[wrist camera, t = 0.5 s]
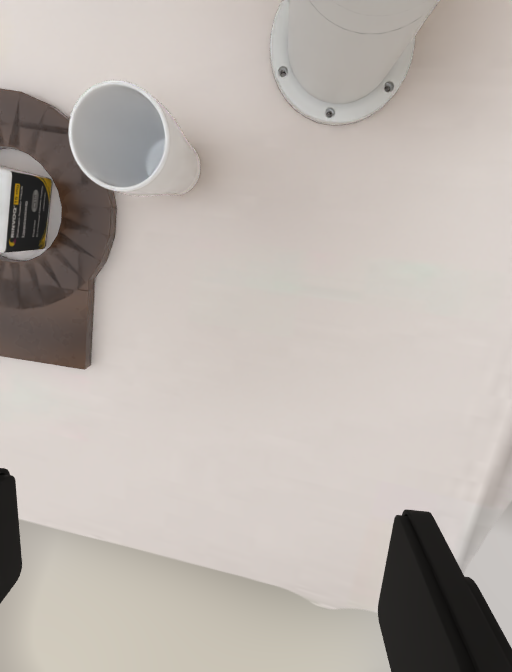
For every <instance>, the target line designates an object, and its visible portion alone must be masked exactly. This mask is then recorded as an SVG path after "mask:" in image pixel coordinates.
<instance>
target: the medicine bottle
mask: <svg viewBox="0 0 512 672" xmlns="http://www.w3.org/2000/svg"><path fill="white" fill-rule="evenodd" d="M51 187H52V181H51V179H49V178H46V177H42V176H39V175H35V174H31V173H27V172H23V171H19V170H15V169H11V168H7V167H3V166H0V253H5V252H15V251H25V250H35V249H43V248H44V247H45V242H46V233H47V224H48V215H49V206H50V197H51Z"/></svg>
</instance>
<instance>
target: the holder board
mask: <svg viewBox="0 0 512 672" xmlns="http://www.w3.org/2000/svg"><path fill="white" fill-rule="evenodd" d="M69 121H70V119H69V118H68V117H66V116H65V115H64V114H63V113H62V112H60V111H59V110H58V109H56V108H55V107H53V106H51V105H49V104H47V103H45V102H42V101H40V100H38V99H36V98H34V97H31V96H29V95H27V94H25V93H22V92H19V91H12V90H5V89H0V149H6V148H11V149H18V150H20V151H23V152H25V153H27V154H29V155H30V156H32V157H33V158H34V159H35V160H37V161H38V162H39V163H41V165H42V166H43V167H44V168H45V170H46V171H47V172H48V173H49V175H50V176H51V177H52V179H53V181H54V183H55V185H56V187H57V189H58V192H59V197H60V201H61V206H62V218H61V225H60V228H59V232H58V235H57V237H56V239H55V240H54V242H53V243H52V245H51V246H50V247H49V248H48V249H47V250H46V251H45V252H44V253H43V254H41V255H40V256H38V257H36V258H33V259H31V260H29V261H18V260H11V259H8V258H5V257H3V256H1V255H0V356H3V357H10V358H16V359H22V360H29V361H35V362H41V363H47V364H54V365H60V366H66V367H73V368H79V369H86V368H87V367H89V366H90V365H91V345H92V323H93V300H94V279H95V277H96V276H97V274H98V273H99V271H100V270H101V268H102V267H103V265H104V264H105V262H106V261H107V258H108V255H109V252H110V249H111V246H112V243H113V240H114V237H115V226H116V203H115V197H114V192H113V191H112V190H109V189H106V188H104V187H101V186H99V185H98V184H96V183H95V182H93V181H92V180H91V179H90V178H88V177H87V176H86V175H85V174H84V172H83V171H82V170H81V169H80V167H79V166H78V164H77V162H76V160H75V158H74V156H73V154H72V151H71V147H70V142H69Z"/></svg>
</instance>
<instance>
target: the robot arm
mask: <svg viewBox="0 0 512 672" xmlns="http://www.w3.org/2000/svg"><path fill="white" fill-rule="evenodd" d="M439 1H440V0H282V2H281V4H280V6H279V8H278V11H277V13H276V16H275V18H274V22H273V27H272V31H271V40H270V57H271V64H272V69H273V74H274V77H275V80H276V82H277V85H278V87H279V89H280V91H281V92H282V94H283V96H284V97H285V99H286V100H287V101H288V102H289V104H290V105H291V106H292V107H293V108H294V109H295V110H296V111H298V112H299V113H301V114H302V115H303V116H305V117H306V118H309V119H311V120H313V121H316V122H318V123H323V124H328V125H345V124H350V123H354V122H358V121H360V120H362V119H365V118H367V117H369V116H370V115H372V114H373V113H375V112H376V111H378V110H379V109H381V108H382V107H383V106H384V105H385V104H386V103H387V102H388V101H389V100H390V99H391V98H392V97H393V95H394V94H395V93H396V92H397V90H398V89H399V87H400V85H401V84H402V82H403V80H404V79H405V77H406V75H407V72H408V69H409V67H410V64H411V61H412V57H413V52H414V47H415V35H416V33H417V32H418V30H419V29H420V28H421V26H422V25H423V23H424V22H425V20H426V19H427V18H428V16H429V15H430V13H431V12H432V11H433V9H434V8H435V6H436V5H437V4H438V2H439ZM282 72H285V73H286V75H285V76H284V77H282V76H281V75H280V74H281V73H282ZM385 87H388V88H389V92H386V91H385V90H384V88H385ZM328 112H330V113H331V114H332V116H331V117H327V116H326V114H327V113H328ZM21 569H22V558H21V546H20V534H19V521H18V509H17V496H16V484H15V478H14V477H13V476H11V475H10V473H9V471H8V470H7V469H4V468H0V603H1V602H2V600H3V599H4V598H5V596H6V595H7V594H8V592H9V591H10V589H11V588H12V587H13V585H14V584H15V583H16V581H17V580H18V578H19V576H20V572H21ZM378 617H379V624H380V627H381V632H382V636H383V640H384V643H385V648H386V652H387V656H388V660H389V664H390V668H391V672H512V648H511V647H510V645H509V643H508V641H507V639H506V637H505V636H504V634H503V632H502V630H501V628H500V627H499V625H498V623H497V621H496V619H495V617H494V615H493V614H492V612H491V610H490V608H489V606H488V604H487V603H486V601H485V599H484V597H483V595H482V593H481V592H480V590H479V588H478V587H477V585H476V583H475V582H474V581H473V580H472V579H471V578H469V577H464V575H463V573H462V571H461V569H460V567H459V565H458V564H457V562H456V560H455V558H454V556H453V554H452V552H451V550H450V548H449V546H448V544H447V543H446V541H445V539H444V537H443V535H442V533H441V531H440V529H439V527H438V525H437V523H436V521H435V520H434V518H433V516H432V514H431V513H430V512H424V511H415V510H404V512H403V514H402V516H401V515H397V516H396V517H395V519H394V524H393V529H392V534H391V540H390V545H389V550H388V556H387V561H386V566H385V572H384V577H383V582H382V587H381V593H380V598H379V604H378Z"/></svg>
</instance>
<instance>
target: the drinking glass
mask: <svg viewBox="0 0 512 672" xmlns="http://www.w3.org/2000/svg"><path fill="white" fill-rule="evenodd" d="M69 142H70V147H71V151H72V154H73V156H74V158H75V160H76V162H77V164H78V166H79V167H80V169H81V170H82V171H83V172H84V174H85V175H86V176H87V177H88V178H90V179H91V180H92V181H93V182H95V183H96V184H98V185H99V186H101V187H104V188H106V189H109V190H112V191H115V192H118V193H122V194H126V195H131V196H158V195H172V196H177V195H182V194H184V193H186V192H188V191H190V190H191V189H192V188H193V187H194V186H195V184H196V183H197V181H198V178H199V175H200V160H199V156H198V154H197V152H196V150H195V149H194V147H193V146H192V145H191V144H190V143H189V141H188V140H187V138H186V137H185V135H184V133H183V131H182V130H181V128H180V126H179V125H178V123H177V122H176V120H175V119H174V117H173V116H172V115H171V114H170V112H169V111H168V110H167V109H166V108H165V107H164V106H163V105H162V104H161V103H160V102H159V101H158V100H157V99H155V98H154V97H153V96H152V95H150V94H149V93H148V92H147V91H145V90H144V89H143V88H141V87H139V86H137V85H135V84H133V83H130V82H126V81H121V80H109V81H104V82H101V83H98V84H96V85H94V86H92V87H91V88H89V89H88V90H87V91H85V92H84V93H83V94H82V95H81V97H80V98H79V99H78V101H77V102H76V104H75V106H74V108H73V110H72V113H71V116H70V121H69Z"/></svg>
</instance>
